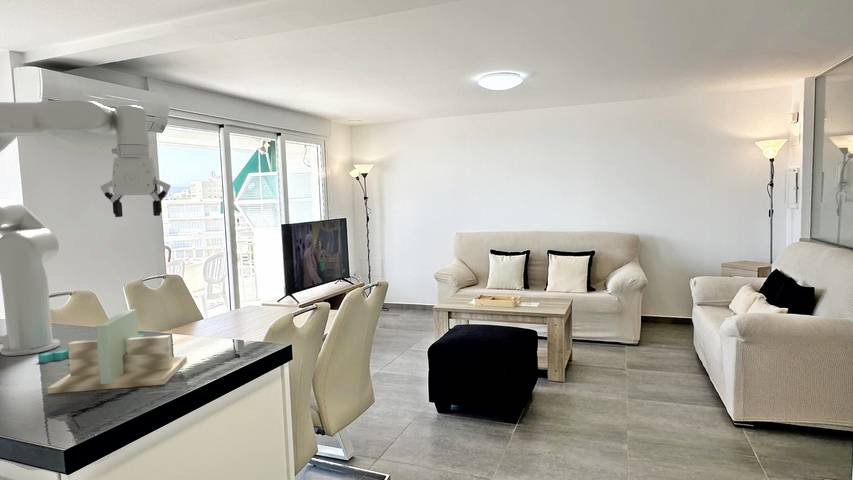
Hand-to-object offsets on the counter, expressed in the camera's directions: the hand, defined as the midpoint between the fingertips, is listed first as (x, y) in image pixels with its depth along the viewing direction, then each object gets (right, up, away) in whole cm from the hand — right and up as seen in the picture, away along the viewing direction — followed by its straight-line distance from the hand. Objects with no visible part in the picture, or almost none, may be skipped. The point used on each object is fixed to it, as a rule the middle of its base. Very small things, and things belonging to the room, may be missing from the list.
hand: (138, 216), depth 143 cm
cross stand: (+12, -36, -28) cm, 47 cm away
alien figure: (-4, -36, -8) cm, 37 cm away
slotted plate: (+12, -35, -28) cm, 47 cm away
